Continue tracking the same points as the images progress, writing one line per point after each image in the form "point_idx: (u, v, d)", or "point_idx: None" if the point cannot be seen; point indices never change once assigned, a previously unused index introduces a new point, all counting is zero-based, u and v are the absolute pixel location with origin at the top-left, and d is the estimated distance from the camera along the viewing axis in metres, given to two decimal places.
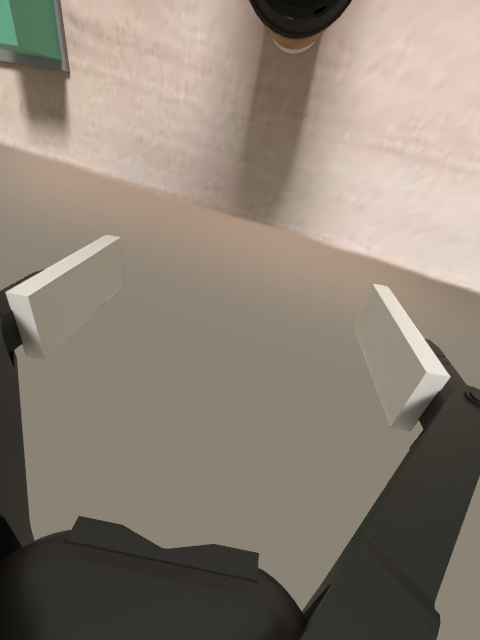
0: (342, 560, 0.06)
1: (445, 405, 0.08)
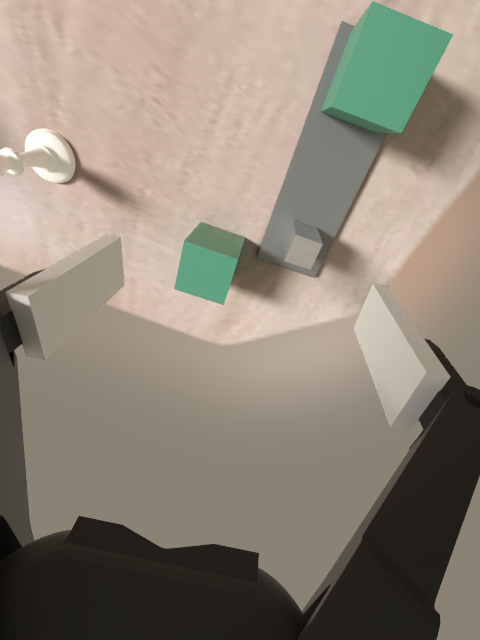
0: (342, 560, 0.06)
1: (445, 405, 0.08)
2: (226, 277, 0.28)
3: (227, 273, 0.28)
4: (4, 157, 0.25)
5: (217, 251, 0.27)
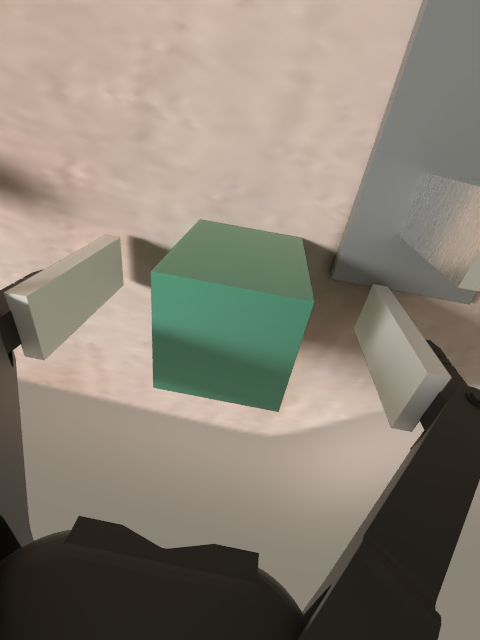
0: (343, 561, 0.05)
1: (446, 406, 0.08)
2: (282, 350, 0.10)
3: (284, 341, 0.10)
4: None
5: (250, 285, 0.09)
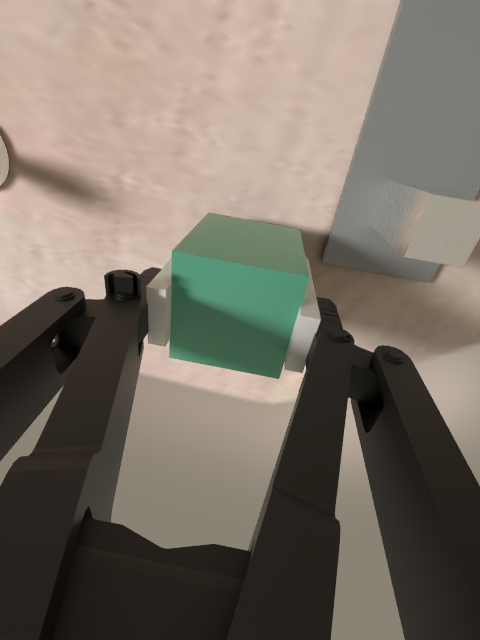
0: (262, 513, 0.06)
1: (315, 348, 0.10)
2: (282, 321, 0.12)
3: (284, 313, 0.12)
4: None
5: (256, 263, 0.11)
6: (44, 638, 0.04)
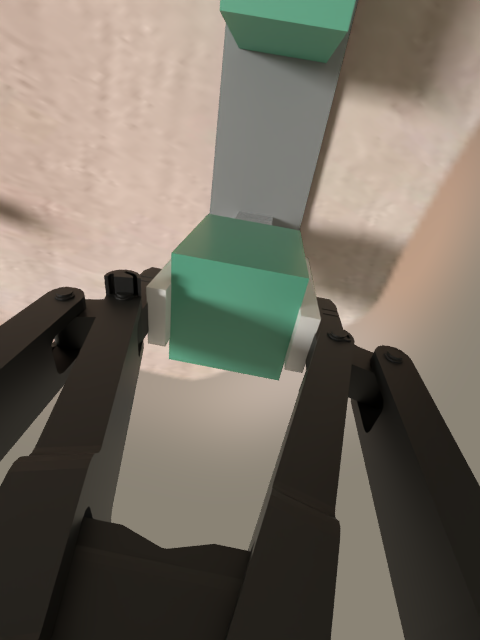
0: (262, 513, 0.06)
1: (315, 347, 0.10)
2: (282, 323, 0.12)
3: (283, 314, 0.12)
4: None
5: (255, 265, 0.11)
6: (44, 638, 0.04)
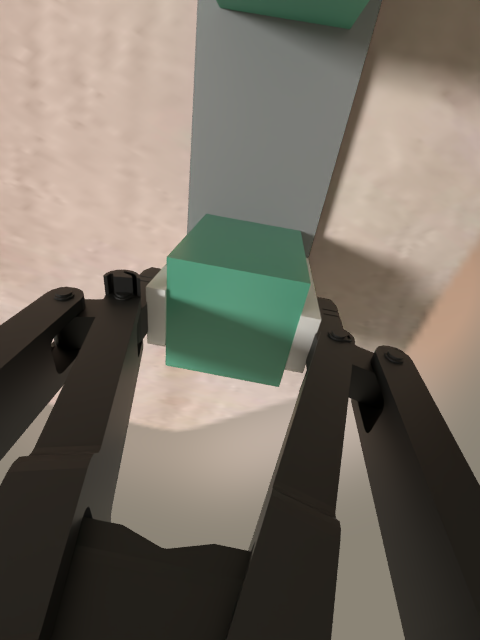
0: (262, 514, 0.06)
1: (316, 348, 0.10)
2: (282, 329, 0.12)
3: (284, 320, 0.11)
4: None
5: (254, 270, 0.11)
6: (44, 638, 0.04)
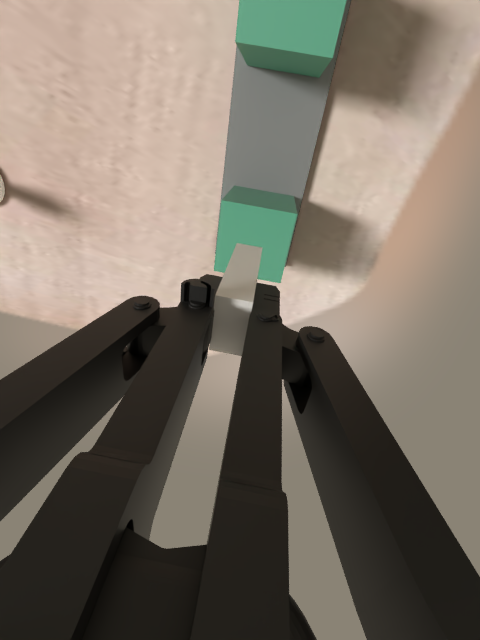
0: None
1: (247, 332, 0.10)
2: (282, 242, 0.21)
3: (283, 237, 0.21)
4: None
5: (267, 207, 0.20)
6: None
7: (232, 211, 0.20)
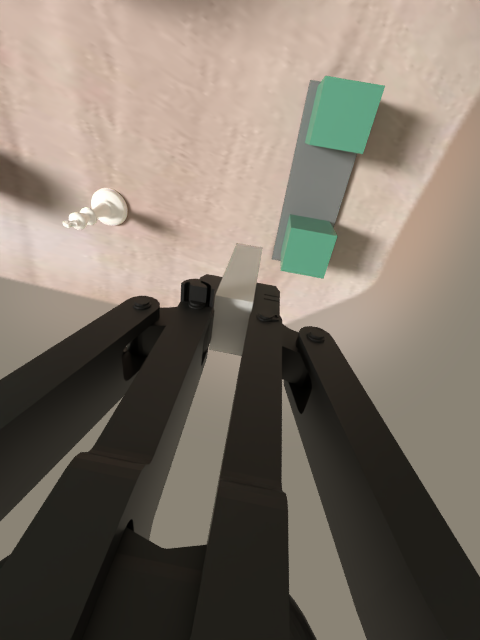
0: None
1: (247, 332, 0.10)
2: (326, 253, 0.34)
3: (327, 249, 0.34)
4: (85, 214, 0.35)
5: (319, 232, 0.33)
6: None
7: (297, 234, 0.33)
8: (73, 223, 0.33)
